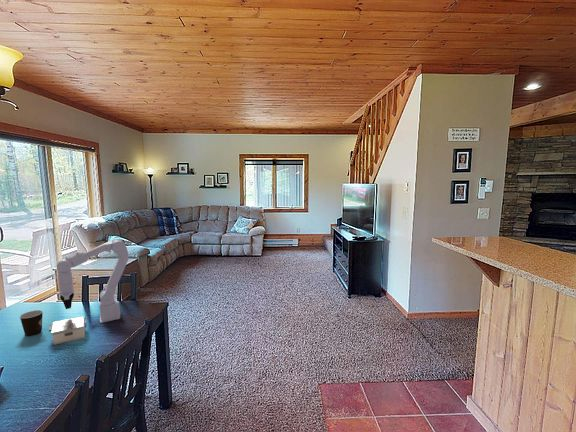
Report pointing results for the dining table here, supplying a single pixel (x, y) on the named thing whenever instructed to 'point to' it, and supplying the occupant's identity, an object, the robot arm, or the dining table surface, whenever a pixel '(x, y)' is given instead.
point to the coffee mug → (32, 322)
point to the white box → (69, 335)
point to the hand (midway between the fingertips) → (68, 308)
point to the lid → (67, 325)
